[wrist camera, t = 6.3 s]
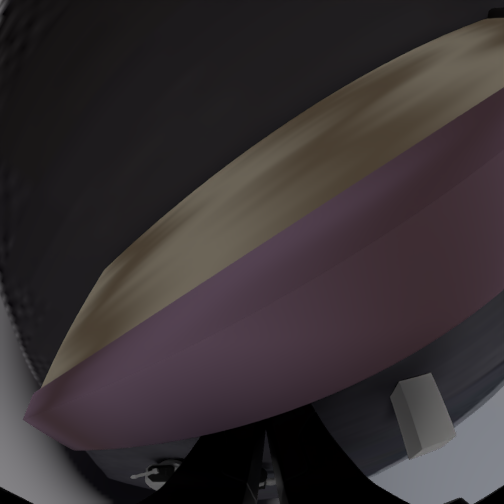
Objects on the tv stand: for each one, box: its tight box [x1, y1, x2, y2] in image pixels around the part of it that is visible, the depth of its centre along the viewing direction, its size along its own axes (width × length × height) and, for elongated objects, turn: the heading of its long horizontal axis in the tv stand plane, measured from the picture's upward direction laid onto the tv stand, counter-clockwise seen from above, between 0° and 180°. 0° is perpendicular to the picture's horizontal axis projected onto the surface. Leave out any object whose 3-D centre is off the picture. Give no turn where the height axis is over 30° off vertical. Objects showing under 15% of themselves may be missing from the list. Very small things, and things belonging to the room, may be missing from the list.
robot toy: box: [131, 459, 276, 490], centre depth 26 cm, size 12×4×15 cm
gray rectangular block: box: [390, 373, 456, 460], centre depth 16 cm, size 3×2×6 cm
